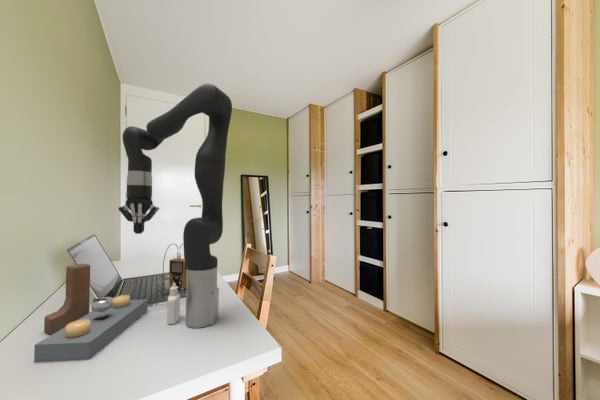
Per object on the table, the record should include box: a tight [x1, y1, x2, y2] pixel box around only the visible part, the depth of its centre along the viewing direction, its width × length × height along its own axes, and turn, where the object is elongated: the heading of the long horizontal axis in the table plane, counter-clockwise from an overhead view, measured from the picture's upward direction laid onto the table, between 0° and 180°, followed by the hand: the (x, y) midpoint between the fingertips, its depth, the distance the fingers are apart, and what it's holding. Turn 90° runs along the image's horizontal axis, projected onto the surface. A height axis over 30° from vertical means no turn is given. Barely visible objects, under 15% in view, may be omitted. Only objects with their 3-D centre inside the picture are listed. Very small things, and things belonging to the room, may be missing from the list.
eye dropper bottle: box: [166, 283, 181, 325], centre depth 76 cm, size 4×6×12 cm
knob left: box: [66, 319, 90, 338], centre depth 61 cm, size 5×5×6 cm
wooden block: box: [43, 263, 91, 336], centre depth 72 cm, size 9×4×18 cm, turn 153°
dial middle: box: [91, 296, 114, 320], centre depth 70 cm, size 5×5×6 cm
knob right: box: [112, 294, 131, 308], centre depth 78 cm, size 5×5×6 cm
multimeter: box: [162, 243, 187, 288], centre depth 101 cm, size 15×10×20 cm
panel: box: [33, 298, 149, 363], centre depth 69 cm, size 12×26×4 cm, turn 6°
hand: (138, 233), depth 84 cm, fingers closed
